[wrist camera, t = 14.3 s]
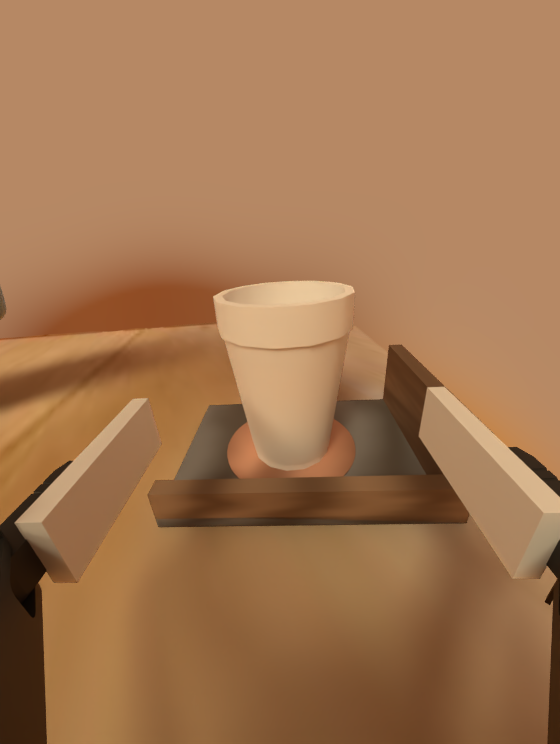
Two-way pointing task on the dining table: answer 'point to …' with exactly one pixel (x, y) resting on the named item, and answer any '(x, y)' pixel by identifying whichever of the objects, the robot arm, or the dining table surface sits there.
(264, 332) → the foam cup
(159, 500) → the wooden-edged grey tray
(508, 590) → the dining table surface
